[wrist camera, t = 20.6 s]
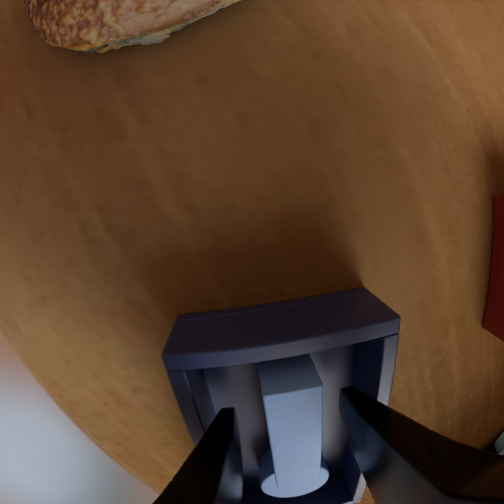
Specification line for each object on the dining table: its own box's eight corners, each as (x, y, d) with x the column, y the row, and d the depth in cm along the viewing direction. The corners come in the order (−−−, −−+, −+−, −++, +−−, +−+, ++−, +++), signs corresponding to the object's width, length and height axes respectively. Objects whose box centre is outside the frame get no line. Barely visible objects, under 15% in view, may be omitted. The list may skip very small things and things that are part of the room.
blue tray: (177, 314, 9) (160, 355, 6) (364, 286, 9) (401, 316, 6) (232, 488, 11) (233, 524, 9) (348, 468, 11) (361, 501, 9)
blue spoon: (321, 468, 10) (332, 506, 8) (261, 479, 10) (266, 518, 8) (323, 334, 9) (349, 378, 6) (234, 349, 9) (235, 398, 6)
